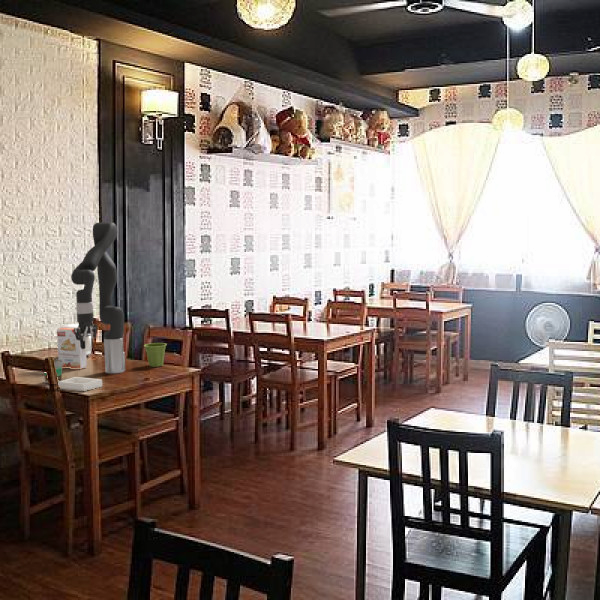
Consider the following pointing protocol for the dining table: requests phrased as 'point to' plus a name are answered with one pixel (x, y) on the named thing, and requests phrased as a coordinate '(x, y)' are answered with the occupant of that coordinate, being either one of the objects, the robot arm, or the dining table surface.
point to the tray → (80, 383)
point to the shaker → (87, 342)
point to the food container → (58, 369)
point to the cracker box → (70, 349)
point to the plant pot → (155, 353)
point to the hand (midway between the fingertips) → (86, 347)
